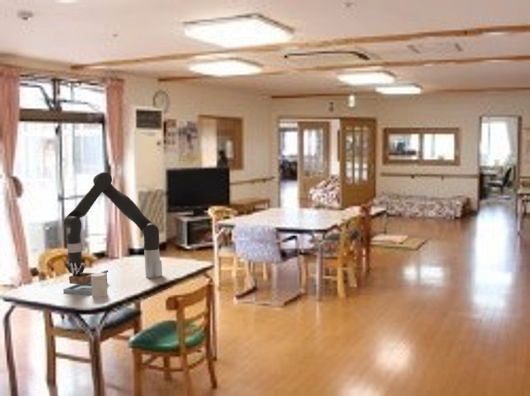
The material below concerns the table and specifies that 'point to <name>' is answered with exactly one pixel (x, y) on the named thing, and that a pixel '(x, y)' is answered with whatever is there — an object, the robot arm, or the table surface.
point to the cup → (99, 285)
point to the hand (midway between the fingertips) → (76, 280)
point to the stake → (105, 272)
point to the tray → (80, 289)
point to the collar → (81, 278)
